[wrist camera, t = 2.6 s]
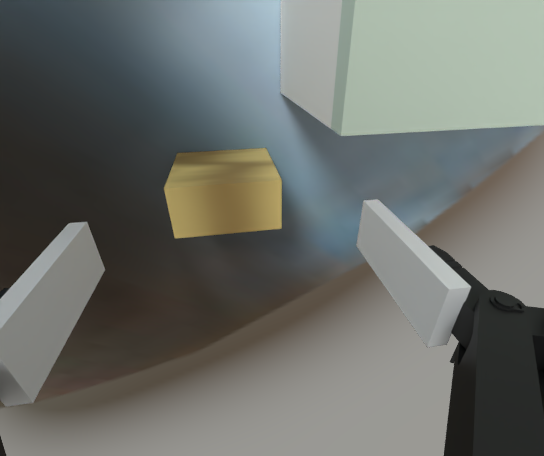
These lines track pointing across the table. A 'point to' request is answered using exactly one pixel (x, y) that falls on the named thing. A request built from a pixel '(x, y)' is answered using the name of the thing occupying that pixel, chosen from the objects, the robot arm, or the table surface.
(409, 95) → the coin box
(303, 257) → the table surface
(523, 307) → the robot arm
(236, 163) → the cardboard box
